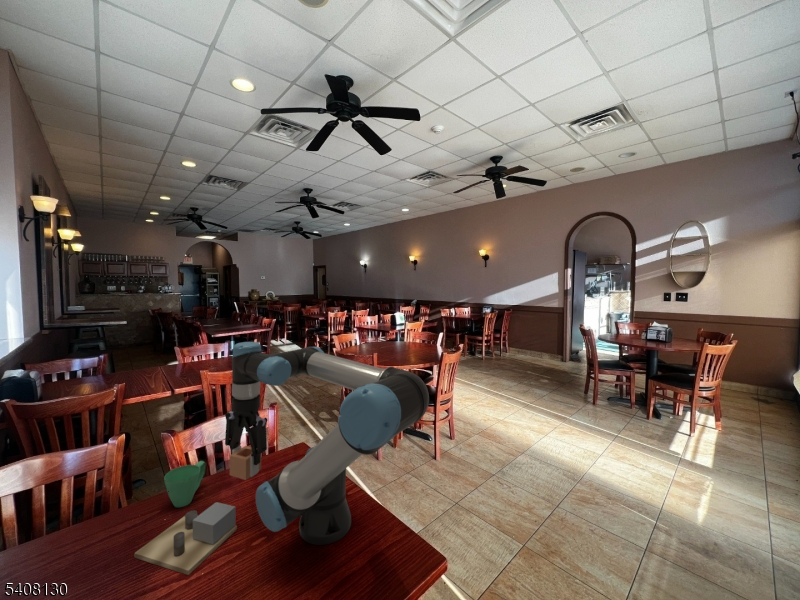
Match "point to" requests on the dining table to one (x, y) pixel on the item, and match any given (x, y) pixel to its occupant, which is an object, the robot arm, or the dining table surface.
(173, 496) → the green rounded tapered part
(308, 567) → the dining table surface
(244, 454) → the orange open-topped box
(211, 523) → the cover
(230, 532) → the housing board
